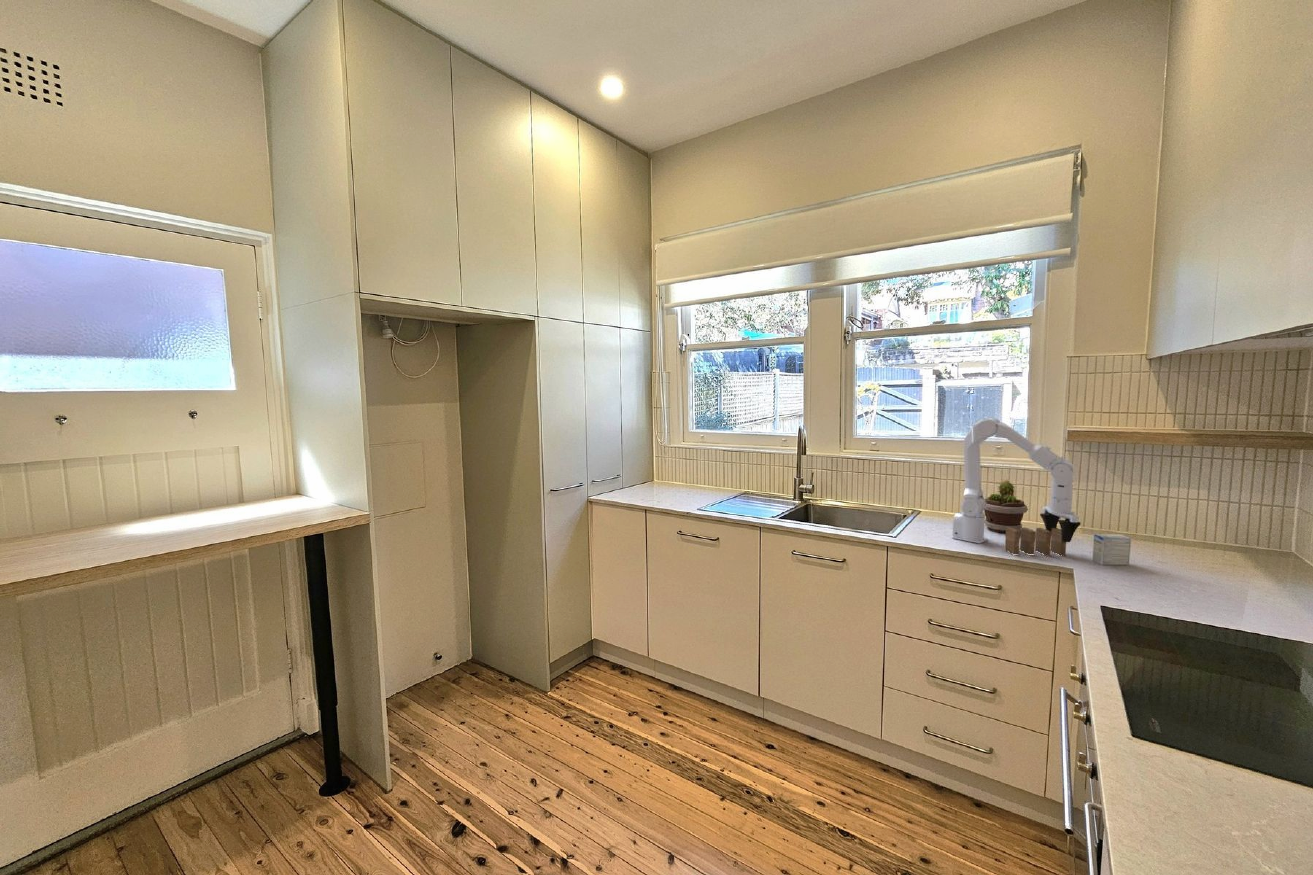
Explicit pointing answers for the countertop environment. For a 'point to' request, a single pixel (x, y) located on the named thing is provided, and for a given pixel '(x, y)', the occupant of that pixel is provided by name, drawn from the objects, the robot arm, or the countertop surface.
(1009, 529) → the domino
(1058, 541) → the domino
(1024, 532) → the domino
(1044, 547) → the domino
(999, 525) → the flowerpot
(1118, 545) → the medicine box
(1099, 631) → the countertop surface
